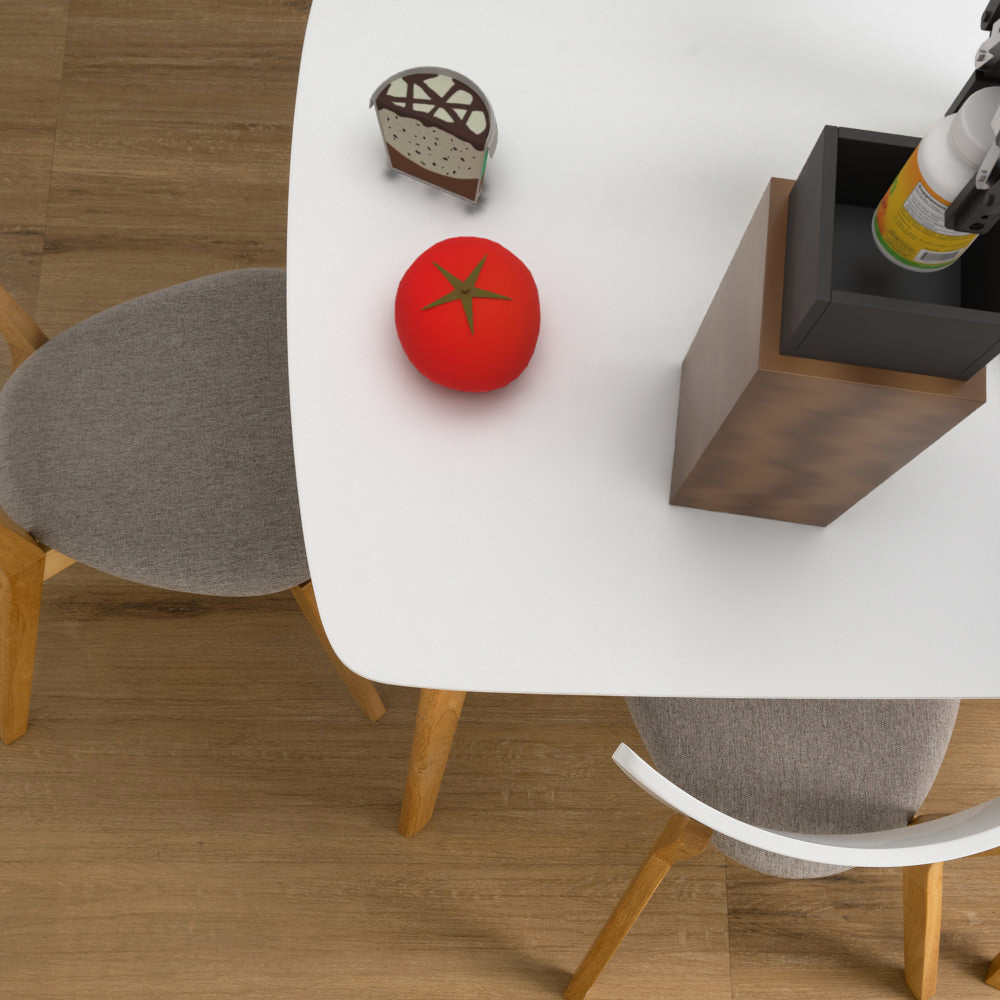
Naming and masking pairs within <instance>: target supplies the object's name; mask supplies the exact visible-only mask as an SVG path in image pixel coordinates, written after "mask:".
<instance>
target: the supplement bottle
mask: <svg viewBox="0 0 1000 1000" xmlns="http://www.w3.org/2000/svg"><path fill="white" fill-rule="evenodd" d="M999 105H1000V86H994V87H987V88H983V89H981V90H978V91H976V92H975V93H973V94H972V95H971V96H970V97H969V98H968V99H967V100H966V101H965V103H964V104H963V105H962V107H961V108H960V110H959V111H958V112H957V113H954V114H951V115H949V116H946V117H945V118H944V117H943V118H941V119H939V120H938V121H936V122H935V123H934V124H933V125H932V126H931V127H930V128H929V129H928V130H927V131H926V133H925V134H924V135H923V137H922V138H923V139H922V140H921V142H920V143H919V145H918V146H917V148H916V149H915V151H914V152H913V154H912V155H911V156H910V158H909V159H908V161H907V162H906V164H905V165H904V167H903V168H902V170H901V171H900V173H899V174H898V176H897V177H896V179H895V180H894V182H893V184H892V185H891V187H890V188H889V190H888V191H887V193H886V194H885V196H884V197H883V199H882V200H881V201H880V203H879V205H878V207H877V208H876V210H875V212H874V215H873V219H872V234H873V238H874V241H875V243H876V245H877V247H878V249H879V250H880V251H881V252H882V254H883V255H884V256H885V257H886V258H887V259H888V260H890V261H891V262H892V263H894V264H896V265H897V266H899V267H901V268H904V269H907V270H910V271H915V272H922V273H927V272H934V271H939V270H942V269H944V268H946V267H948V266H950V265H951V264H952V263H954V262H955V261H956V260H957V259H958V258H959V257H960V256H961V255H962V254H963V253H964V251H965V250H966V249H967V248H968V247H969V246H970V245H971V243H972V242H973V241H974V240H975V239H976V238H977V237H978V235H979V234H972V233H965V232H957V231H954V230H950V229H947V228H945V226H944V213H945V211H946V210H947V208H948V207H949V206H950V205H951V203H952V202H953V201H954V200H955V198H956V197H957V196H958V194H959V193H960V192H961V191H962V189H963V188H964V187H965V186H966V184H967V183H968V182H969V180H970V179H971V178H972V177H973V175H974V174H975V173H976V172H978V171H979V169H980V167H981V165H982V163H983V161H984V159H985V157H986V155H987V153H988V151H989V149H990V147H991V145H992V143H993V141H994V138H993V136H992V133H991V131H990V123H991V121H992V119H993V117H994V115H995V113H996V111H997V109H998V107H999Z"/></svg>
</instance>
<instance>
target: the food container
mask: <svg viewBox="0 0 1000 1000" xmlns="http://www.w3.org/2000/svg"><path fill="white" fill-rule="evenodd" d="M368 104H369V105H368V109H372V108H374V110H375V114H376V119H377V122H378V126H379V130H380V133H381V138H382V141H383V145H384V146H383V147H384V150H385V153H386V157H387V161H388V164H389V169H390V170H392V171H394V172H396V173H399V174H401V175H404V176H406V177H408V178H411V179H413V180H416V181H418V182H420V183H423V184H425V185H428V186H430V187H433V188H435V189H438V190H440V191H442V192H445V193H447V194H449V195H451V196H454V197H456V198H459V199H461V200H463V201H465V202H469V203H471V204H473V205H478V202H479V200H480V197H481V194H482V188H483V185H484V177H485V172H486V167H487V161H488V155H489V158H490V159H493V157H494V155H495V152H496V149H497V146H498V139H499V129H498V122H497V119H496V115H495V112H494V109H493V106H492V104H491V102H490V100H489V98H488V96H487V95H486V94H485V92H484V91H483V89H482V88H481V87H480V86H479V85H478V84H477V83H476V82H474V81H473V80H472V79H471V78H469V77H468V76H467V75H465V74H463V73H461V72H459V71H456V70H453V69H451V68H448V67H441V66H435V65H434V66H433V65H423V66H422V65H421V66H415V67H409V68H406V69H403V70H400V71H398V72H396V73H394V74H392V75H391V76H389V77H388V78H386V79H385V80H383V81H382V82H381V83H380V84H379V85H378V86H377V87H376V88H375V90H373V92H372V94H371V97H370V98H369V103H368ZM373 106H374V107H373Z"/></svg>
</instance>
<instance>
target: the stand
mask: <svg viewBox="0 0 1000 1000" xmlns="http://www.w3.org/2000/svg"><path fill="white" fill-rule="evenodd" d="M796 180H797V179H790V178H785V177H783V178H782V177H776V176H770V179H769V180H768V183H767V185H766V187H765V190H764V191H763V193H762V196H761V198H760V199H759V202H758V204H757V206H756V208H755V210H754V211H753V214H752V216H751V219H750V221H749V223H748V225H747V227H746V228H745V231H744V233H743V235H742V237H741V239H740V242H739V244H738V245H737V248H736V250H735V251H734V254H733V255H732V256H733V257H732V259H731V260H730V263H729V265H728V266H727V269H726V271H725V273H724V275H723V277H722V280H721V281H720V283H719V284H718V285H719V286H718V288H717V290H716V291H715V294H714V296H713V298H712V300H711V302H710V304H709V306H708V309H707V310H706V313H705V315H704V317H703V319H702V321H701V323H700V325H699V327H698V329H697V331H696V334H695V335H694V338H693V340H692V342H691V344H690V346H689V348H688V350H687V352H686V354H685V357H684V359H683V360H682V363H681V372H680V384H679V394H678V405H677V412H676V413H677V414H676V424H675V435H674V447H673V456H672V457H673V458H672V467H671V477H670V478H671V479H670V488H669V489H670V490H669V500H668V505H670V506H676V507H681V508H682V507H683V508H689V509H697V510H704V511H710V512H715V513H716V512H717V513H724V514H730V515H738V516H743V517H744V516H745V517H752V518H758V519H765V520H773V521H778V522H779V521H780V522H785V523H786V522H787V523H793V524H799V525H800V524H801V525H807V526H813V527H819V528H826V527H828V526H829V525H831V524H832V523H833V522H834V521H835V520H837V519H838V518H840V517H841V516H842V515H843V514H845V513H846V512H848V511H849V510H851V509H852V507H854V506H855V505H856V504H857V503H859V502H860V501H862V500H863V499H864V498H866V497H867V496H868V495H869V494H870V493H872V492H873V491H874V490H875V489H878V487H879V486H881V485H882V484H884V483H885V482H886V481H887V480H889V479H890V478H891V477H892V476H894V475H895V474H896V473H897V472H899V471H900V470H902V468H904V467H905V466H907V465H908V464H909V463H910V462H911V461H913V460H914V459H915V458H917V457H918V456H919V455H920V454H922V453H923V452H924V451H926V450H927V449H928V448H929V447H932V445H933V444H934V443H936V442H938V441H939V440H940V439H941V438H943V436H945V435H946V434H948V433H949V432H950V431H951V430H953V429H954V428H955V427H956V426H958V425H960V423H962V422H963V421H964V420H966V419H967V418H968V417H969V416H971V415H973V413H975V412H976V411H977V410H978V409H979V408H981V407H983V406H984V405H985V404H986V403H987V365H986V366H984V367H983V368H982V369H981V370H980V371H978V372H977V373H976V374H975V375H973V377H971V378H970V379H969V380H968V381H964V380H957V379H950V378H943V377H936V376H929V375H922V374H915V373H908V372H901V371H894V370H887V369H880V368H873V367H865V366H858V365H851V364H844V363H837V362H830V361H823V360H816V359H809V358H802V357H795V356H788V355H781V354H779V349H780V333H781V317H782V300H783V284H784V268H785V251H786V235H787V219H788V203H789V194H790V192H791V190H792V188H793V186H794V184H795V182H796Z"/></svg>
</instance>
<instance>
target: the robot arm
mask: <svg viewBox="0 0 1000 1000" xmlns="http://www.w3.org/2000/svg"><path fill="white" fill-rule="evenodd" d="M979 26H980V30H981V31H984V32H989V35H988V38H987V39H986V40H984V42H982V43H981V45H980V46H979V48H978V49H977V51H976V53H975V56H974V68H975V69H974V71H973V72H972V73H971V75H970V77H969V78H968V79H967V81H966V82H965V84H964V85H963V87H962V88H961V89H960V91H959V93H958V94H957V95H956V97H955V99H954V100H953V102H952V103H951V105H950V106H949V107H948V109H947V111H946V112H945V113H944V117H943V118H945V117H946V116H949V115H951V114H954V113H957V112H958V111H959V110H960V108H961V107H962V105H963V104H964V103H965V101H966V100H967V99H968V98H969V97H970V96H971V95H972V94H973V93H975V92H976V91H978V90H981V89H983V88H987V87H994V86H1000V0H989V1H988V4H987V5H986V7H985V9H984V10H983V12H982V14H981V17H980V25H979ZM990 131H991V133H992V136H993V138H994V141H993V143H992V145H991V147H990V149H989V151H988V153H987V155H986V157H985V159H984V161H983V163H982V165H981V167H980V169H979V171H978V172H976V173H975V174H974V175H973V177H972V178H971V179H970V180H969V182H968V183H967V184H966V186H965V187H964V188H963V189H962V191H961V192H960V193H959V194H958V196H957V197H956V198H955V200H954V201H953V202H952V203H951V205H950V206H949V207H948V208H947V210H946V211H945V213H944V226H945V228H947V229H950V230H954V231H957V232H965V233H972V234H979V235H983V234H985V233H987V232H988V231H989V230H990V229H991V228H992V227H993V225H995V223H996V222H997V221H998V220H999V219H1000V105H999V107H998V109H997V111H996V113H995V115H994V117H993V119H992V121H991V123H990Z"/></svg>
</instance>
